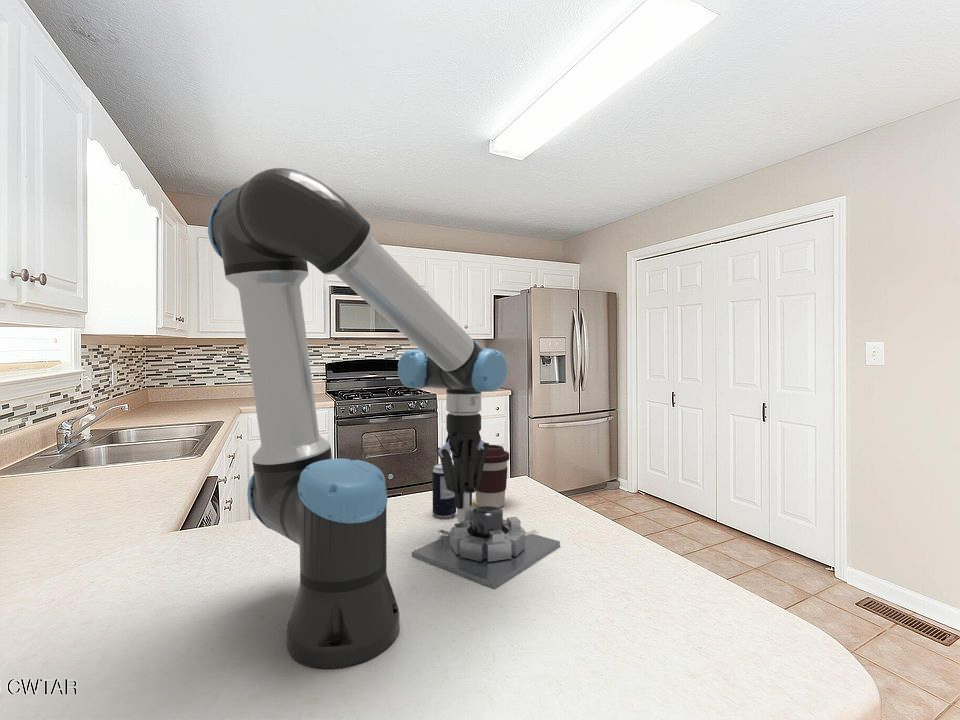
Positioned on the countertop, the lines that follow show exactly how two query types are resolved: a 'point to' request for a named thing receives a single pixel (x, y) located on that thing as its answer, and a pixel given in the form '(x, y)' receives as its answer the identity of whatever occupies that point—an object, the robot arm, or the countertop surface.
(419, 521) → the countertop surface
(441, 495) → the beverage can
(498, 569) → the flange plate
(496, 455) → the coffee cup
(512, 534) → the segmented block ring
